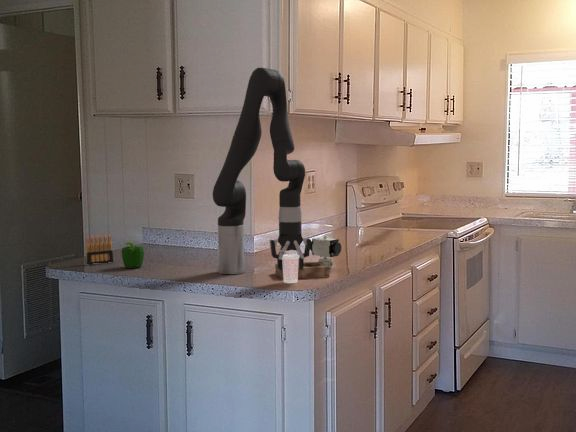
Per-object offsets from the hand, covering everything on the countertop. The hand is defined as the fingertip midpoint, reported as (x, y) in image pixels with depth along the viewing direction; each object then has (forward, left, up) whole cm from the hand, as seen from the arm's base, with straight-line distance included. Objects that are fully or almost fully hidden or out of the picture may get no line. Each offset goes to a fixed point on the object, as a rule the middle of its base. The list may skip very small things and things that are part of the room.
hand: (290, 269), depth 235 cm
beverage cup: (0, 0, -4) cm, 4 cm away
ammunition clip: (-65, +55, -4) cm, 85 cm away
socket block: (+6, +11, -4) cm, 13 cm away
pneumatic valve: (+18, +23, -4) cm, 30 cm away
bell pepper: (-52, +43, -4) cm, 68 cm away
